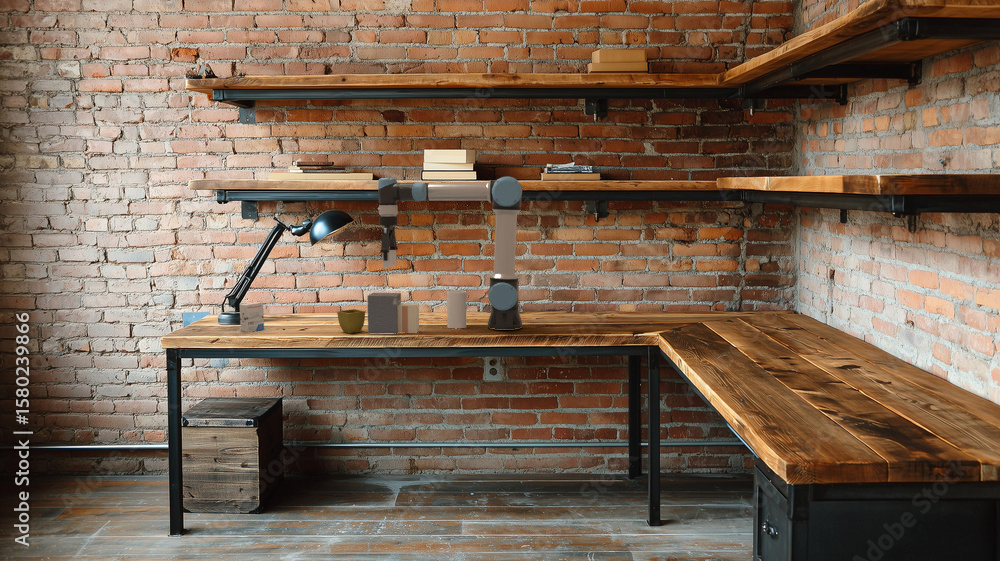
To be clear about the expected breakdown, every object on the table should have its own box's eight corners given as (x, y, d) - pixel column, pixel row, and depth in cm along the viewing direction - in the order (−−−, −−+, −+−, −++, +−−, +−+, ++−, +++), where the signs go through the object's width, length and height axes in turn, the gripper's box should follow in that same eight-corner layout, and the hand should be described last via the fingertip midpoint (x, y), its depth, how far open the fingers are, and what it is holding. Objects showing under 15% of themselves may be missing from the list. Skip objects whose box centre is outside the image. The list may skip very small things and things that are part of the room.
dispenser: (401, 330, 314) (400, 292, 312) (396, 334, 304) (396, 296, 303) (373, 329, 315) (372, 292, 313) (368, 334, 305) (367, 295, 303)
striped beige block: (419, 331, 311) (418, 303, 310) (417, 333, 306) (416, 305, 305) (390, 331, 312) (390, 303, 311) (388, 333, 307) (388, 304, 306)
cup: (449, 329, 315) (449, 292, 313) (445, 326, 323) (445, 290, 321) (468, 328, 317) (468, 292, 315) (463, 325, 325) (463, 289, 323)
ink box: (258, 328, 318) (257, 301, 316) (264, 329, 315) (263, 302, 313) (240, 331, 311) (238, 303, 310) (246, 332, 308) (245, 304, 307)
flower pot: (336, 332, 310) (336, 310, 309) (354, 329, 316) (354, 308, 315) (348, 334, 303) (348, 313, 302) (366, 332, 309) (365, 311, 308)
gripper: (385, 214, 315) (386, 264, 318) (372, 216, 291) (374, 270, 293) (402, 214, 315) (404, 264, 317) (391, 216, 290) (392, 270, 293)
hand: (389, 267), depth 305 cm, fingers open, 13 cm apart
